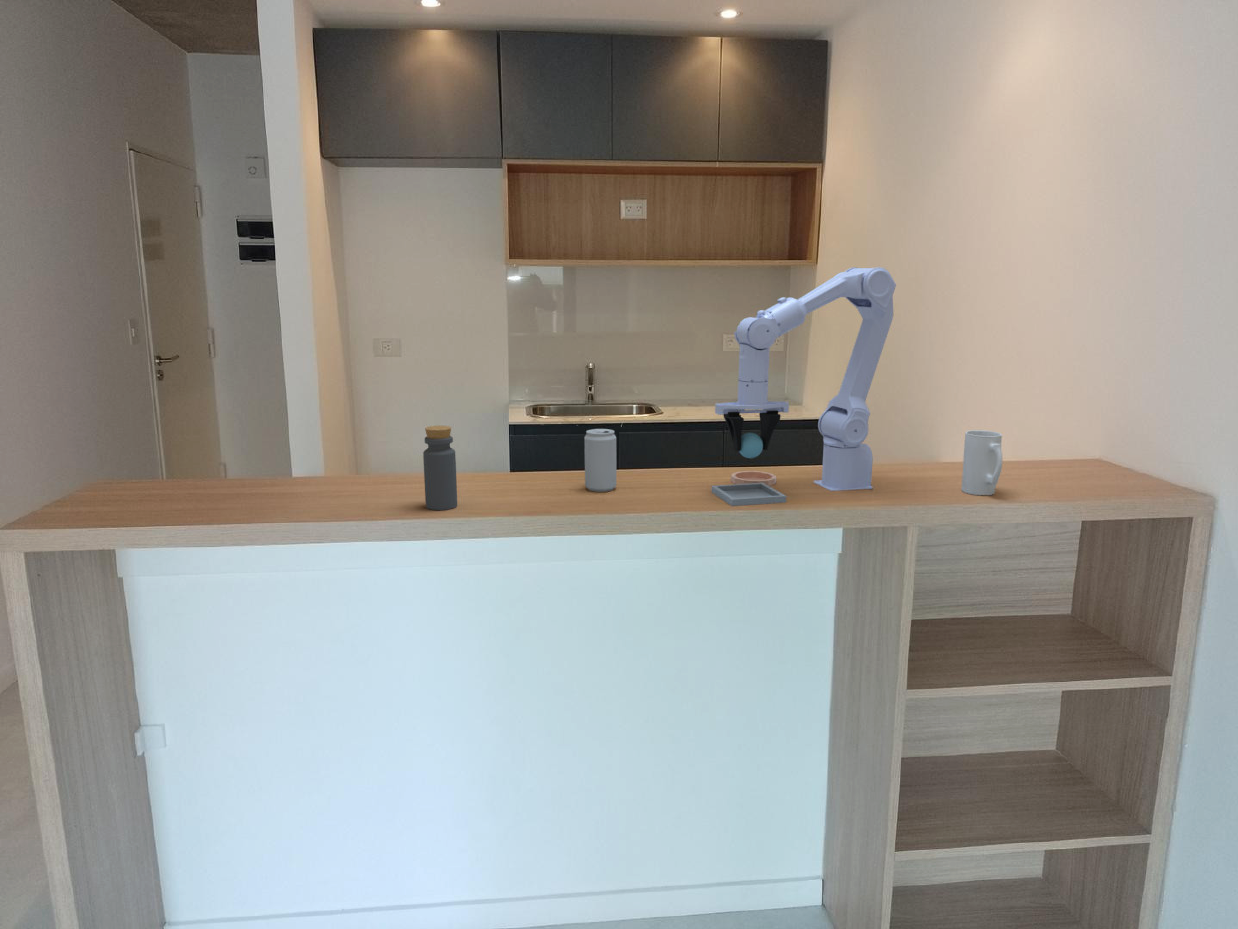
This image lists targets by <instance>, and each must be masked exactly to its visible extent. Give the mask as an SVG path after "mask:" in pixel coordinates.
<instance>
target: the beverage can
mask: <svg viewBox="0 0 1238 929" xmlns="http://www.w3.org/2000/svg"><path fill="white" fill-rule="evenodd" d="M585 432H586V434H585V435H584V486H585V488H587V489H588V491H589V492H597V493H599V492H600V493H601V492H603V493H604V492H611V491H613V490H614V489H615V488H616V487H617V436H616V435H615V430H613V429H608V428H594V429H593V428H592V429H587V430H586V431H585Z"/></svg>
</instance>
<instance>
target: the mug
mask: <svg viewBox="0 0 1238 929" xmlns="http://www.w3.org/2000/svg"><path fill="white" fill-rule="evenodd" d="M964 434H965V435H964V445H963V446H964V448H963V461H962V462H963V464H962V476H961V478H962V479H961V491H962V493H965V494H968V495H974V496H981V495H987V496H993V495H994V494H995V493H996V486H997V484H998V482H999V479H1000V476H1001V473H1002V468H1003V453H1002V452H1003V451H1002V439H1003V434H1002V433H1000V432H998V431H992V430H981V429H980V430H978V429H977V430H976V429H973V430H967V431H965V433H964ZM992 494H993V495H992Z"/></svg>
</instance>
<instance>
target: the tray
mask: <svg viewBox="0 0 1238 929" xmlns="http://www.w3.org/2000/svg"><path fill="white" fill-rule="evenodd" d="M710 490H711V491H710V492H711V493H712V494H713V495H714V496H717V497H718V498H719V499H721V500H722V501H724V502H725V503H727V504H728V505H729V506H731V507H738V506H739V507H740V506H753V505H754V506H755V505H768V504H782V503H787V495H785V494H784V493H782V492H780V491H778V490H777V489H775V488H773V487H772V486H768V485H766V484H764V483H750V484H734V483H732V484H720V485H719V484H718V485H711V488H710Z"/></svg>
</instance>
